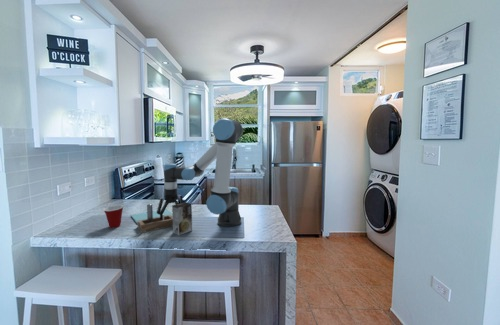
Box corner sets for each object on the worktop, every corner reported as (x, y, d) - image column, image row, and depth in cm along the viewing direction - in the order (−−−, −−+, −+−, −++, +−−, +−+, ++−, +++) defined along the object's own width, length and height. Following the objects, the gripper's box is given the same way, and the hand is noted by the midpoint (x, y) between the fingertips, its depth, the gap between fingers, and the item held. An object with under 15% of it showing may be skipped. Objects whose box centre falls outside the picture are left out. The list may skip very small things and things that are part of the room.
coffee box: (185, 228, 142) (185, 201, 140) (192, 230, 138) (192, 203, 136) (172, 232, 135) (171, 205, 133) (179, 235, 131) (178, 207, 129)
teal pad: (175, 217, 162) (175, 215, 162) (137, 224, 147) (137, 222, 147) (165, 210, 178) (165, 209, 178) (130, 216, 163) (130, 214, 163)
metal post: (153, 227, 142) (152, 204, 141) (148, 228, 140) (147, 205, 139) (152, 226, 145) (151, 203, 143) (147, 227, 143) (146, 204, 142)
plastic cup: (106, 224, 147) (105, 205, 146) (125, 222, 151) (124, 204, 150) (102, 230, 137) (101, 210, 136) (123, 228, 141) (122, 208, 140)
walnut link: (176, 224, 147) (176, 218, 147) (141, 232, 135) (141, 225, 135) (170, 220, 155) (170, 214, 155) (137, 227, 143) (137, 220, 143)
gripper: (185, 185, 158) (186, 217, 160) (150, 189, 145) (151, 224, 147) (190, 187, 152) (190, 220, 154) (153, 191, 139) (154, 228, 141)
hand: (171, 222), depth 151 cm, fingers open, 10 cm apart
